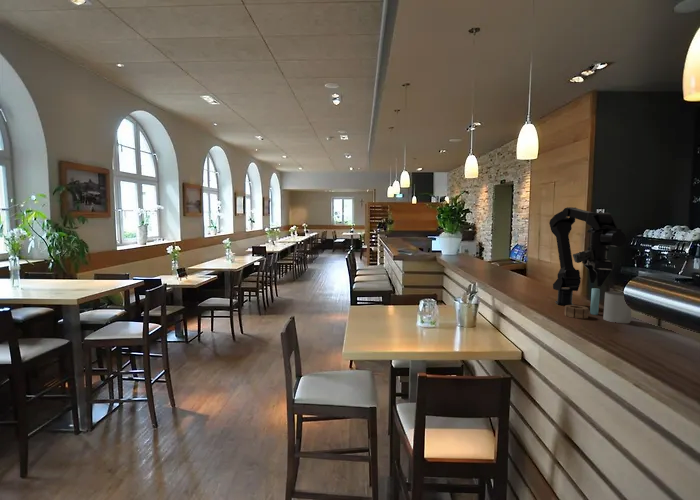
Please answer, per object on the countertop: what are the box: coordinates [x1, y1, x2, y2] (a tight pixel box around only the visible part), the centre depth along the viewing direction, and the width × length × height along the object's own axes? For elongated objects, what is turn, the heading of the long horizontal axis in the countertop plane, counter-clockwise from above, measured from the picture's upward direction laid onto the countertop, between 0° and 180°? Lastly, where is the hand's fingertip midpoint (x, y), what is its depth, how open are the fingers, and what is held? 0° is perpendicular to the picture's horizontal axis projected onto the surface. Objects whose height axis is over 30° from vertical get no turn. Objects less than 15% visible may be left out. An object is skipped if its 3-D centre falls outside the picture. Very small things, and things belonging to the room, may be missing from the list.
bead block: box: [564, 304, 590, 319], centre depth 156 cm, size 8×8×4 cm
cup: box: [602, 291, 632, 324], centre depth 150 cm, size 8×8×10 cm
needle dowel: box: [589, 287, 601, 316], centre depth 160 cm, size 3×3×10 cm
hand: (595, 284), depth 159 cm, fingers open, 9 cm apart
